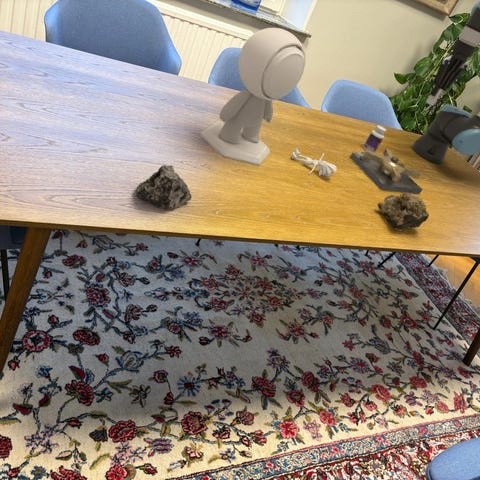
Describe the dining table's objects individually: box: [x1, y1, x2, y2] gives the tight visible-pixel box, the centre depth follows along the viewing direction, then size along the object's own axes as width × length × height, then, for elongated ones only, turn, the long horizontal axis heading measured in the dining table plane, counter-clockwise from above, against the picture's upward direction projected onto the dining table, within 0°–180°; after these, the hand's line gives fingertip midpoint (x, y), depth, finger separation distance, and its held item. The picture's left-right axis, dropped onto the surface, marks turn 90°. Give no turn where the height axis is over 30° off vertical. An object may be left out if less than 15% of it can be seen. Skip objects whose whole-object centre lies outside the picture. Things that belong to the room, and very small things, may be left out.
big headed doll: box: [199, 27, 306, 166], centre depth 127 cm, size 20×23×35 cm
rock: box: [135, 164, 192, 210], centre depth 100 cm, size 13×10×10 cm
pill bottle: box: [362, 125, 387, 154], centre depth 177 cm, size 5×5×10 cm
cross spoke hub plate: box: [349, 150, 423, 195], centre depth 163 cm, size 20×20×3 cm
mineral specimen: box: [377, 192, 430, 231], centre depth 135 cm, size 14×13×10 cm
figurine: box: [290, 148, 338, 177], centre depth 143 cm, size 12×5×15 cm
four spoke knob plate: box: [362, 148, 421, 182], centre depth 161 cm, size 22×22×4 cm
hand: (429, 103), depth 173 cm, fingers closed
